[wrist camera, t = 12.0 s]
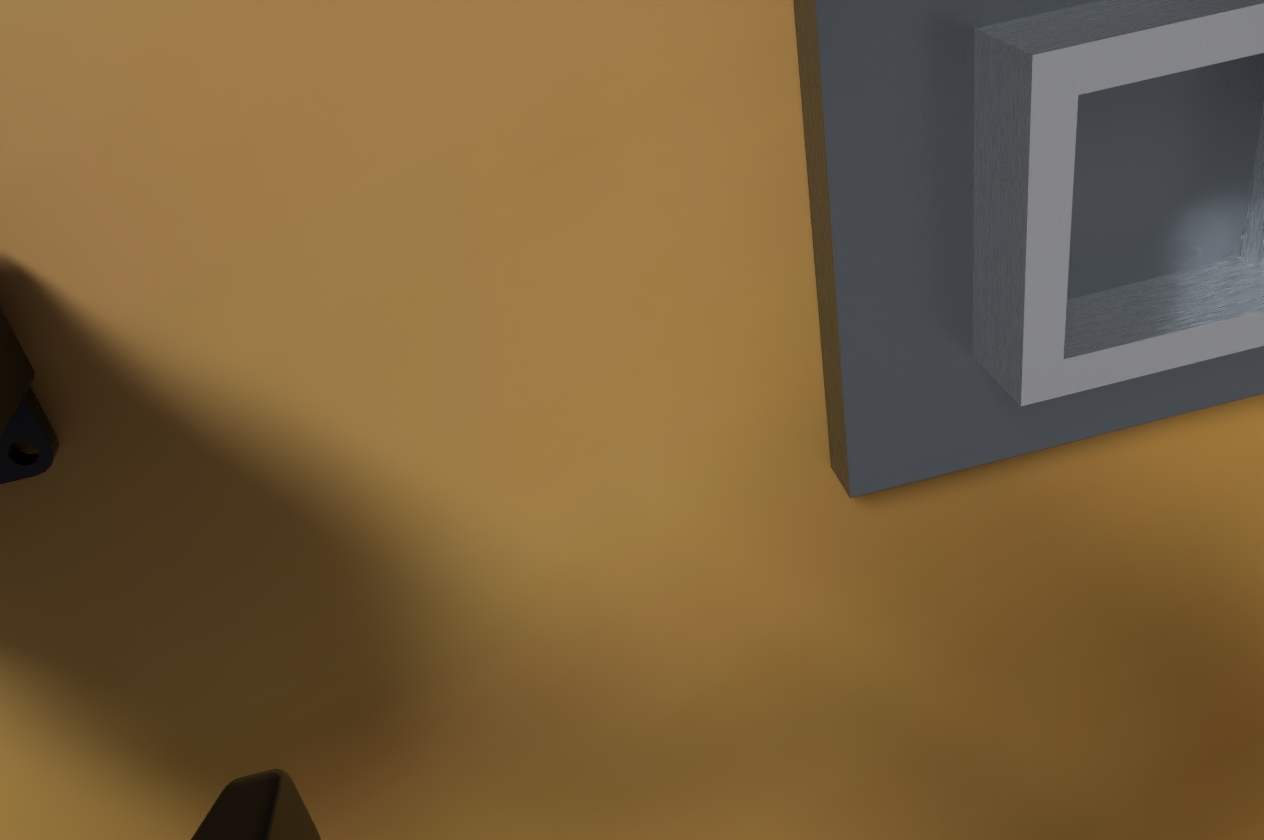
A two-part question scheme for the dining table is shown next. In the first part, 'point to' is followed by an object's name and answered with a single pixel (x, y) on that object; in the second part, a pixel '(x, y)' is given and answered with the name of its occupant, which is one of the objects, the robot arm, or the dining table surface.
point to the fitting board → (1029, 221)
